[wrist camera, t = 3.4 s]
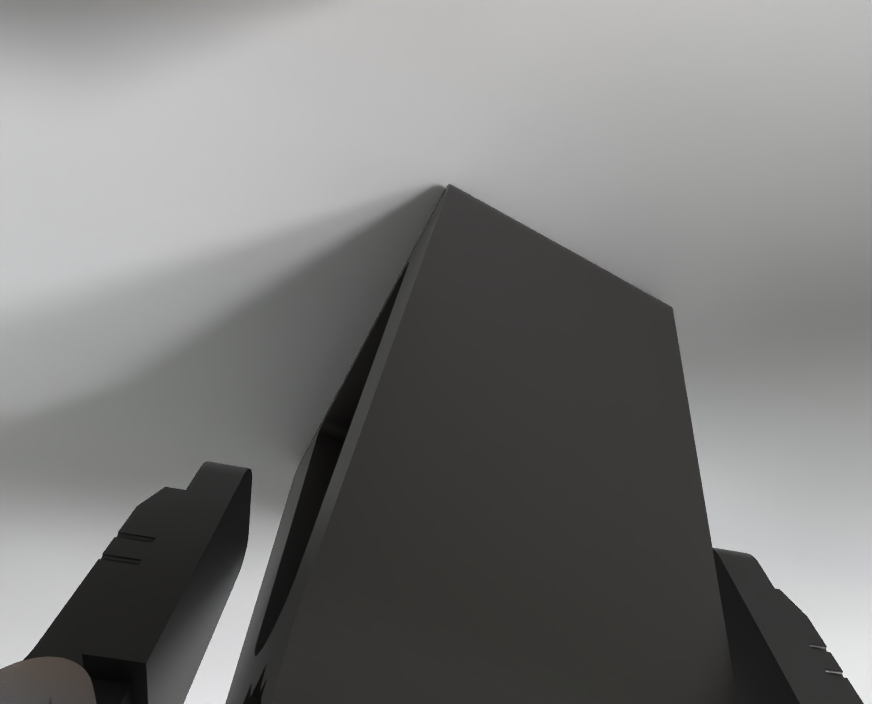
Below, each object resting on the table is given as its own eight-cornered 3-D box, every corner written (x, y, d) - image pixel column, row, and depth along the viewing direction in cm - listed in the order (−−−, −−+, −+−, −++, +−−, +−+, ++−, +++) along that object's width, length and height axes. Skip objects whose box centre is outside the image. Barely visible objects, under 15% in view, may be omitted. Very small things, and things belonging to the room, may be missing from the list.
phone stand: (450, 179, 13) (427, 775, 2) (668, 302, 14) (1409, 1110, 3) (296, 465, 16) (-9, 1229, 6) (478, 545, 17) (518, 1309, 7)
